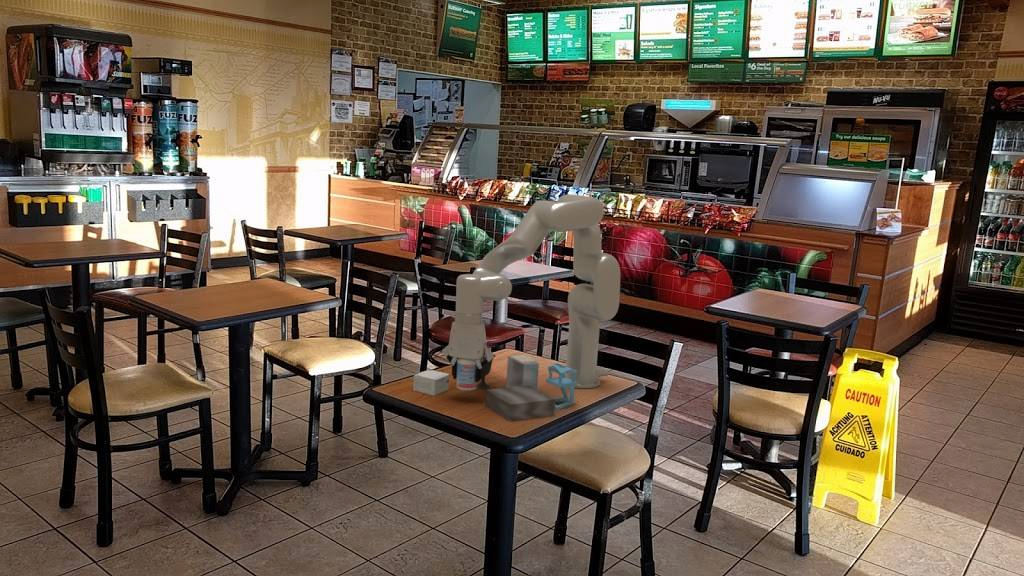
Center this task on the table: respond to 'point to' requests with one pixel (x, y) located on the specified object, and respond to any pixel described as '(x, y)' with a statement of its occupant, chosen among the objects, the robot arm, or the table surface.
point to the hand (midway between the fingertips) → (467, 378)
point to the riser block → (520, 402)
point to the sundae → (485, 371)
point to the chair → (562, 383)
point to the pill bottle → (466, 374)
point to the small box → (431, 382)
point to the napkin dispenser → (522, 371)
